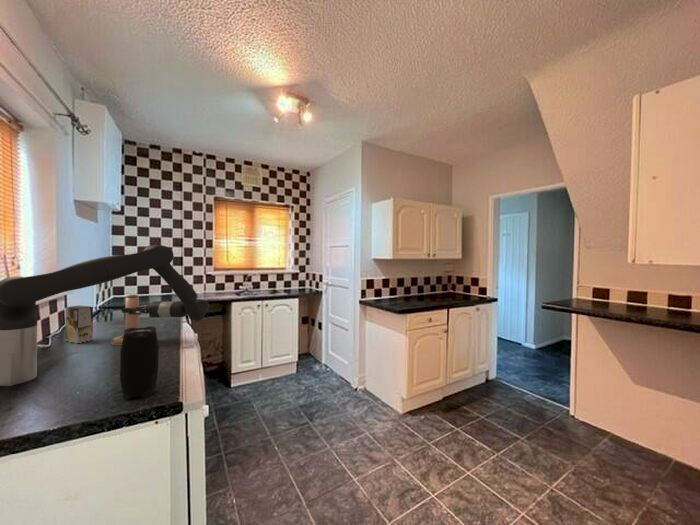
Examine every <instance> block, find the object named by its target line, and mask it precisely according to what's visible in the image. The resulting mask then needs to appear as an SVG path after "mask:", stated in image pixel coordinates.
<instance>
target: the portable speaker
mask: <svg viewBox="0 0 700 525" xmlns="http://www.w3.org/2000/svg"><path fill="white" fill-rule="evenodd" d="M123 333H124V334H123V335H124V337H123V341H122V345H120V351H119V352H120V353H119V355H120V356H119V364H120V365H119V380H120V381H119V382H120V387H121V391H122V398H123V399H124V400H126V401H129V400H131V398H137V397H141V398H143V399H146V398H148V397H150V396H152V395H153V394H154V393H155V389H156V387H157V386H156V385H157V378H158V372H159V356H160V355H159V350H160V349H159V348H160V346H159V342H158V337H157V336H158V335H157V328H156V327H155V326H150V325H149V326H146V327H138V328H128V329H127V328H125V329H124V331H123Z"/></svg>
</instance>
